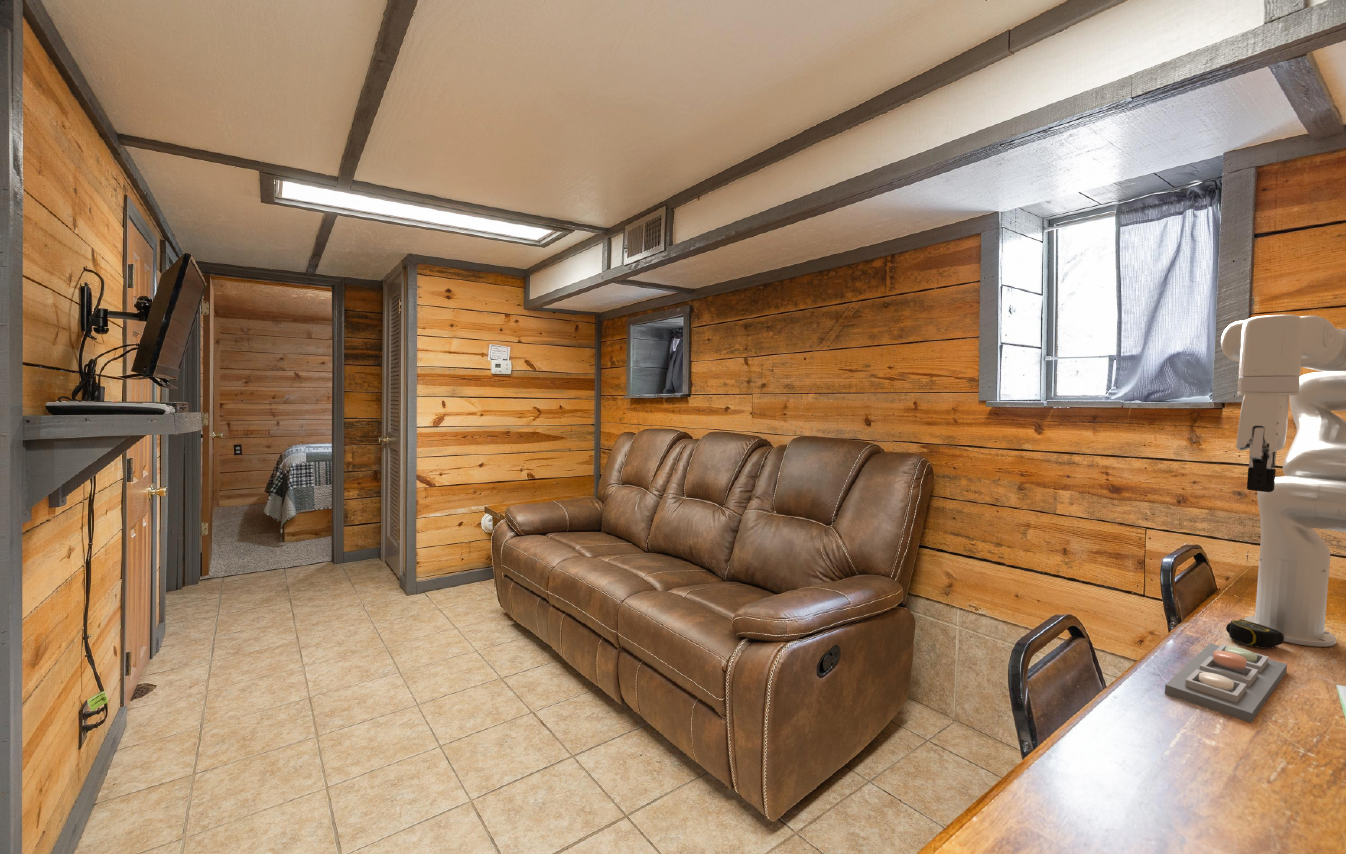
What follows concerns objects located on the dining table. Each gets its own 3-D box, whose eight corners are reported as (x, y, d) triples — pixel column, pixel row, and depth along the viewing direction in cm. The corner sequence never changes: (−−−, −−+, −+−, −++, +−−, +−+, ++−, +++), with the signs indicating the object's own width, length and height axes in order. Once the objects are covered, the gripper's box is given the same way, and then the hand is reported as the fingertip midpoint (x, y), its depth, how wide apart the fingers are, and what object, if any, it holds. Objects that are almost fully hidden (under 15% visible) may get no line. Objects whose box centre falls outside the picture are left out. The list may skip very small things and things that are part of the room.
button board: (1209, 651, 108) (1210, 637, 108) (1286, 672, 100) (1287, 657, 100) (1164, 693, 93) (1165, 677, 93) (1251, 722, 85) (1252, 705, 85)
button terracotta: (1216, 655, 99) (1216, 648, 99) (1248, 664, 96) (1249, 657, 96) (1209, 661, 97) (1210, 654, 97) (1242, 671, 94) (1243, 663, 94)
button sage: (1227, 651, 104) (1228, 644, 104) (1259, 659, 101) (1259, 653, 101) (1221, 657, 102) (1222, 650, 102) (1253, 666, 98) (1254, 659, 98)
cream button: (1202, 676, 95) (1202, 669, 95) (1236, 687, 91) (1236, 679, 91) (1195, 684, 92) (1195, 676, 92) (1229, 694, 89) (1230, 687, 89)
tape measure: (1285, 649, 109) (1287, 630, 109) (1262, 654, 107) (1263, 634, 107) (1241, 634, 116) (1242, 616, 116) (1218, 639, 114) (1219, 620, 114)
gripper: (1248, 386, 109) (1241, 483, 110) (1227, 387, 100) (1220, 492, 101) (1306, 387, 103) (1299, 489, 104) (1290, 387, 94) (1282, 498, 95)
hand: (1260, 490), depth 103 cm, fingers closed
